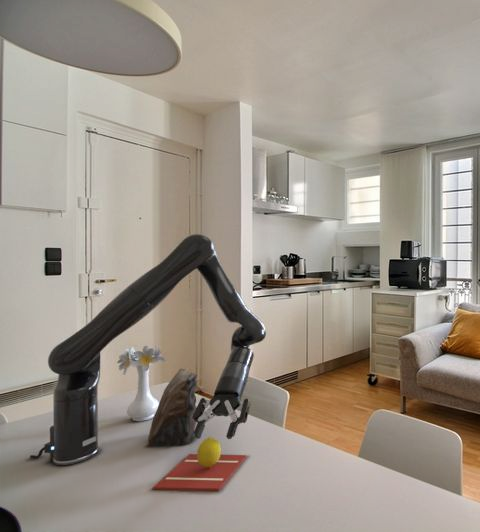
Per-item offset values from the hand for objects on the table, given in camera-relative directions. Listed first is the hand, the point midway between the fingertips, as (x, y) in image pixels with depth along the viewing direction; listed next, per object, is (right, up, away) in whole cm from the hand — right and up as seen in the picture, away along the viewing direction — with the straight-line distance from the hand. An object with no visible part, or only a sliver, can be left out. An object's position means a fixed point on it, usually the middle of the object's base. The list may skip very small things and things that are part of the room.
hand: (212, 437), depth 98 cm
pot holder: (-1, -8, -3) cm, 8 cm away
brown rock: (-20, -7, +15) cm, 26 cm away
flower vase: (-40, -7, +29) cm, 50 cm away
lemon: (0, -7, -2) cm, 8 cm away
